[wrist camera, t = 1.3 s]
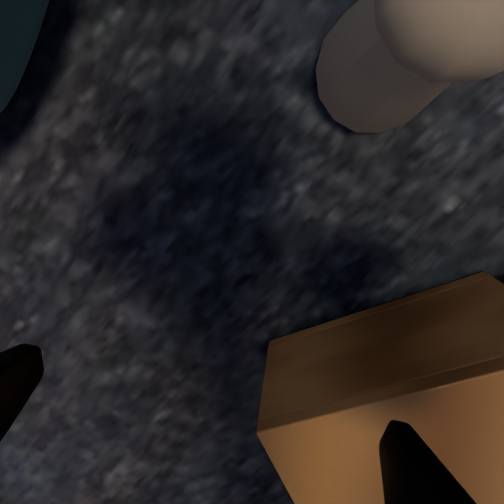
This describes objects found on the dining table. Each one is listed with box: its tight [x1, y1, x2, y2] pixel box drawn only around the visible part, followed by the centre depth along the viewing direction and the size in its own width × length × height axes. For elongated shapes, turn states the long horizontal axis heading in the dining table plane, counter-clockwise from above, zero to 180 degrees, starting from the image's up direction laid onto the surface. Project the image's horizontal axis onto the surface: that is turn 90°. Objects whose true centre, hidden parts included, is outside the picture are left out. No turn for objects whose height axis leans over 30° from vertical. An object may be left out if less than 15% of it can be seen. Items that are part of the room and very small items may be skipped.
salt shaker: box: [316, 0, 504, 133], centre depth 12 cm, size 6×6×13 cm
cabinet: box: [256, 272, 504, 504], centre depth 19 cm, size 15×13×8 cm
